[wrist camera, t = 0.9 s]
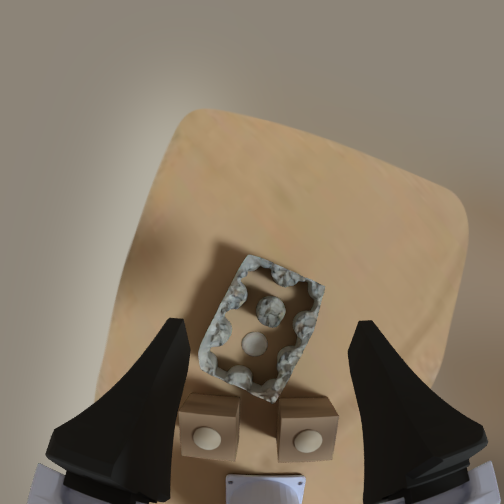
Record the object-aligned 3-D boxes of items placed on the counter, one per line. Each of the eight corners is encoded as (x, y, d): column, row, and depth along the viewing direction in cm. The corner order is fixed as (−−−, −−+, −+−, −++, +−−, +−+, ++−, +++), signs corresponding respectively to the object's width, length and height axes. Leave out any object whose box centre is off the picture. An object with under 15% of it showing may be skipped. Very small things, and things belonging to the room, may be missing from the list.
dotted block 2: (322, 436, 23) (332, 461, 19) (276, 438, 24) (278, 463, 19) (327, 396, 24) (339, 416, 19) (278, 397, 24) (281, 419, 19)
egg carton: (272, 393, 24) (273, 411, 20) (197, 357, 25) (186, 370, 21) (326, 289, 25) (338, 290, 21) (250, 252, 26) (247, 246, 22)
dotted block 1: (239, 436, 24) (235, 462, 19) (192, 432, 24) (181, 456, 19) (240, 396, 24) (235, 418, 20) (191, 392, 24) (177, 412, 20)
